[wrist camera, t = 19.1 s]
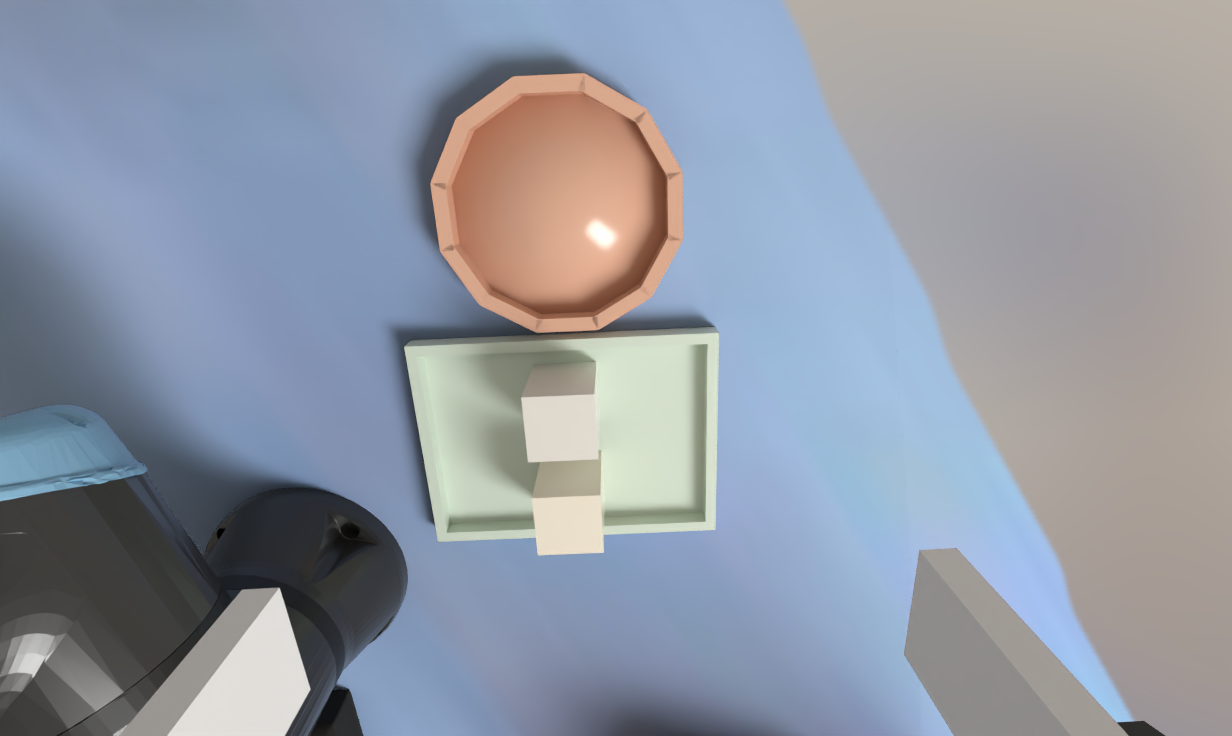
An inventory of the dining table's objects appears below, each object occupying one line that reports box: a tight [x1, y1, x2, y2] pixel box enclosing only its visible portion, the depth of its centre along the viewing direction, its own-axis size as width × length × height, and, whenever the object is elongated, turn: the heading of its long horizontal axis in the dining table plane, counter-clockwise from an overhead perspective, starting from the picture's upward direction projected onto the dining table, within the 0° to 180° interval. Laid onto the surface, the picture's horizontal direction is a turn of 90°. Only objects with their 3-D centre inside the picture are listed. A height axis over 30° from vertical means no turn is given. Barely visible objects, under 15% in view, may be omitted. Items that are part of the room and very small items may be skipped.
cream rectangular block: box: [532, 451, 604, 555], centre depth 41 cm, size 4×4×6 cm
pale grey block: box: [521, 362, 600, 462], centre depth 38 cm, size 4×4×6 cm
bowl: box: [430, 73, 683, 333], centre depth 36 cm, size 15×15×2 cm
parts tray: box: [404, 327, 719, 542], centre depth 42 cm, size 21×16×2 cm
